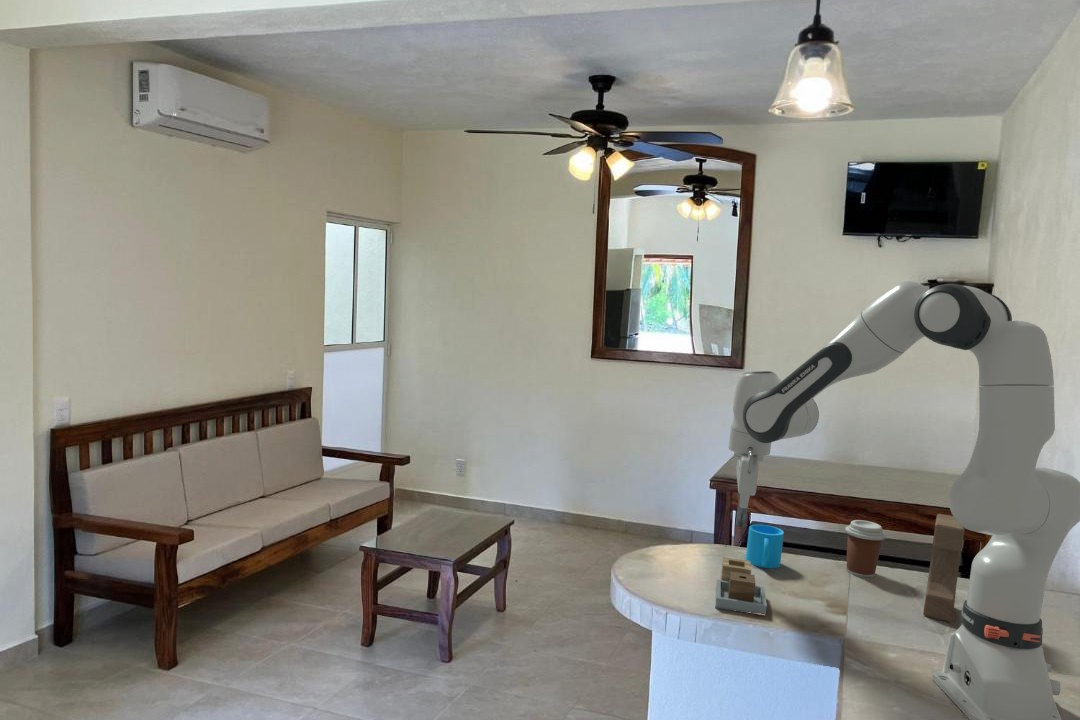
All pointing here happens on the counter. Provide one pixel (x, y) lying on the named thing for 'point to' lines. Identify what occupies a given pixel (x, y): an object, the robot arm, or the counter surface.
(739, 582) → the block
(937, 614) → the decorative block
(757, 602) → the tray
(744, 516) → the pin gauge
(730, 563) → the block
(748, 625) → the counter surface
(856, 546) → the coffee cup
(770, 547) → the mug
